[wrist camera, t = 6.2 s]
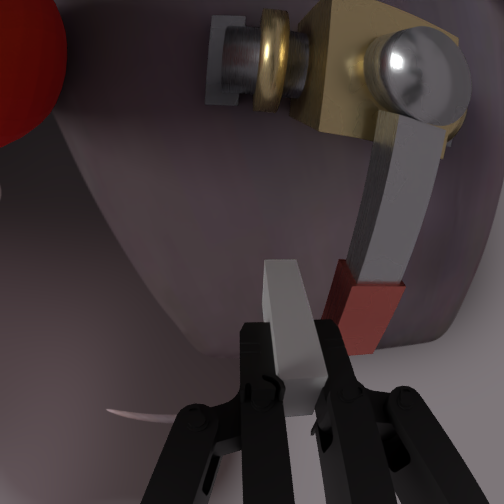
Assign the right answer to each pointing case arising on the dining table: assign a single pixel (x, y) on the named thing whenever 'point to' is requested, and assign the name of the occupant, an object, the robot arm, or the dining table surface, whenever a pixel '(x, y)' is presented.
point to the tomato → (29, 64)
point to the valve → (308, 64)
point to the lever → (396, 175)
